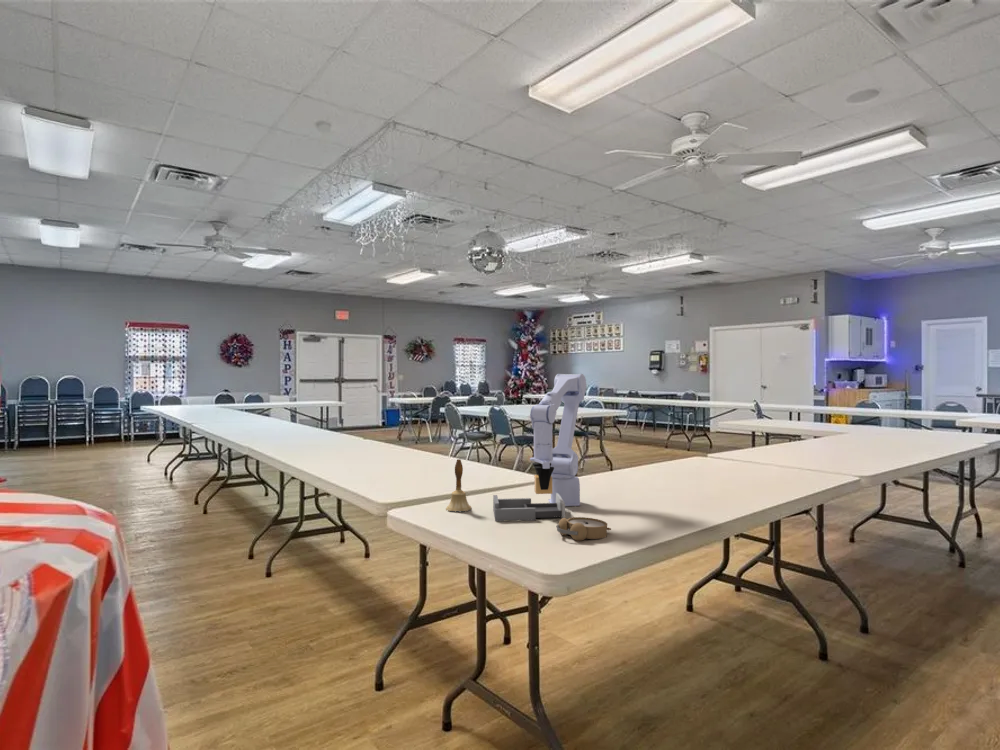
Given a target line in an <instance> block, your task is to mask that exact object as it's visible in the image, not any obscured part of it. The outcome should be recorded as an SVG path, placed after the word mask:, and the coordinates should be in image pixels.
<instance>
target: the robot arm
mask: <svg viewBox="0 0 1000 750" xmlns="http://www.w3.org/2000/svg"><path fill="white" fill-rule="evenodd" d="M553 385H554V386H553V388H552V390H551V391H548V392H546V394H545V395H544V396H543V398H541V400H540V402H539V403H538V404H535V405H533V406H532V407H531V409H530V411H529V412H530V413H529V417H530V418H529V419H530V422H531V429H533V457H529V461H531V462H534V463H532V465H533V467H534V470H535V473H536V474H535V475H538V477H539V482H540V488H541V490H548V487H549V482H550V477H551V476H552V494H550V499H548V503H549V502H550V503H556V493H558V494H559V495H560V497H561V498H562V499H563V501H564V502H565V507H577V506H578V507H579V506H581V484H580V478H579V477H578V476H576V475H577V474H578V471H579V456H578V454H577V453H576V451H574V450H573V449H572V446H573V442H574V441H573V440H574V435H575V429H576V424H577V418H578V411H579V406H580V403H581V402H582V401H584V400H585V396H586V390H587V379H586V376H585V375H584V373H577V374H576V373H575V374H574V373H572V374H569V373H568V374H567V373H565V374H564V373H557V374H556V375H555V376H554V380H553ZM562 402H563V403H564V404H563V410H562V417H561V422H560V427H559V434H558V437H557V442H556V443H557V444H556V446H554V447H553V424H554V422H555V421H556V416H557V411H558V409H559V408H560V407H561V405H562Z"/></svg>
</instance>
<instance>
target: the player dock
mask: <svg viewBox="0 0 1000 750" xmlns="http://www.w3.org/2000/svg"><path fill="white" fill-rule="evenodd" d="M492 497H493V498H492V499H493V500H492V501H493V502H492V508H493V509H492V510H493V517H494V522H505V521H504V520H526V521H536V518H535V508H523V504H528V503H532V498H530V497H525V498H523V497H522V498H521V497H520V498H498V495H497V494H493V496H492Z"/></svg>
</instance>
